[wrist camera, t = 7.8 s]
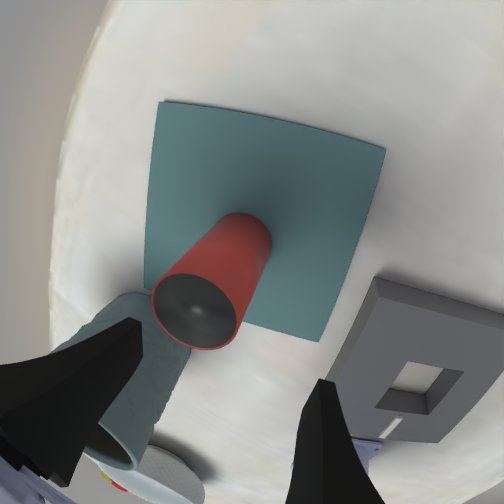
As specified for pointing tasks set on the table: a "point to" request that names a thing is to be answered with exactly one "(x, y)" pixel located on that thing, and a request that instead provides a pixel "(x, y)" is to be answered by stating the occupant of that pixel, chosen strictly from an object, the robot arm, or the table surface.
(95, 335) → the robot arm
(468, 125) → the table surface
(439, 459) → the table surface
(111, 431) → the plant pot
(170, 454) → the cereal bowl
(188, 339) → the red cylinder
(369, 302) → the square hole block
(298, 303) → the bench mat
